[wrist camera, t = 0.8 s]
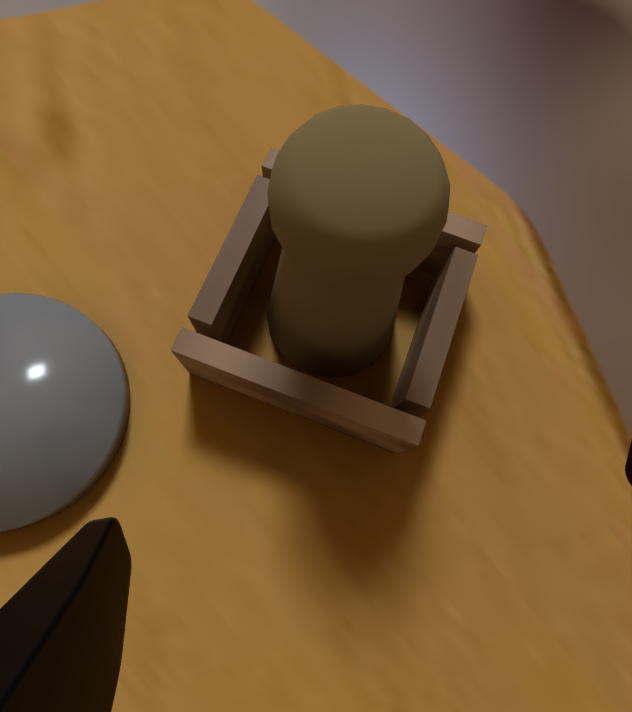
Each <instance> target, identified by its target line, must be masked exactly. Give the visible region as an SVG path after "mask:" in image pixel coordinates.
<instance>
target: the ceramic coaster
mask: <svg viewBox="0 0 632 712" xmlns="http://www.w3.org/2000/svg"><path fill="white" fill-rule="evenodd" d="M129 409H130V389H129V381H128V376H127V372H126V369H125V365H124V363H123V360H122V358H121V356H120V354H119V352H118V350H117V349H116V347H115V345H114V344H113V342H112V341H111V340H110V339H109V337H108V336H107V335H106V334H105V333H104V332H103V331H102V330H101V329H100V328H99V327H98V326H97V325H96V324H95V323H93V322H92V321H91V320H90V319H89V318H88V317H86V316H85V315H84V314H83V313H81V312H79V311H78V310H76V309H75V308H73V307H71V306H69V305H67V304H65V303H63V302H61V301H58V300H55V299H52V298H48V297H45V296H39V295H33V294H20V293H13V294H0V532H1V531H10V530H14V529H19V528H23V527H27V526H30V525H33V524H35V523H38V522H41V521H44V520H46V519H48V518H50V517H52V516H54V515H56V514H58V513H59V512H61V511H62V510H64V509H65V508H67V507H69V506H70V505H72V504H73V503H74V502H76V501H77V500H78V499H79V498H80V497H82V496H83V495H84V494H85V493H86V492H87V491H88V490H89V489H90V488H91V487H92V486H93V485H94V484H95V483H96V482H97V481H98V480H99V479H100V477H101V476H102V474H103V473H104V472H105V470H106V469H107V468H108V466H109V465H110V463H111V461H112V460H113V458H114V456H115V454H116V453H117V451H118V448H119V446H120V444H121V441H122V439H123V437H124V433H125V429H126V426H127V422H128V416H129Z"/></svg>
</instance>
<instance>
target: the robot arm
mask: <svg viewBox="0 0 632 712" xmlns="http://www.w3.org/2000/svg"><path fill="white" fill-rule="evenodd" d="M625 473H626V477H627V479H628V481H629V483H630V484H631V486H632V440H631V445H630V449H629V453H628V457H627V461H626V465H625ZM130 576H131V555H130V552H129V549H128V546H127V543H126V540H125V537H124V534H123V531H122V528H121V525H120V523H119V521H118V520H117V519H116V518H113V517H110V518H104V519H98V520H93V521H90V522H88V523H87V524H85V525H84V526H83V527H82V528H81V529H80V530H79V531H78V532H77V533H76V534H75V535H74V536H73V537H72V538H71V539H70V540H69V541H68V542H67V543H66V544H65V545H64V546H63V547H62V548H61V549H60V550H59V551H58V552H57V553H56V554H55V555H54V556H53V557H52V558H51V559H50V560H49V561H48V562H47V563H46V564H45V565H44V566H43V567H42V568H41V569H40V570H39V571H38V572H37V573H36V574H35V575H34V576H33V577H32V578H31V579H30V580H29V581H28V582H27V583H26V584H25V585H24V586H23V587H22V588H21V589H20V590H19V591H18V592H17V593H16V594H15V595H14V596H13V597H12V598H11V599H10V600H9V601H8V602H7V603H6V604H5V605H4V606H3V607H2V608H1V609H0V712H111V710H112V706H113V701H114V696H115V692H116V687H117V682H118V677H119V672H120V666H121V659H122V651H123V642H124V632H125V623H126V614H127V604H128V595H129V585H130Z"/></svg>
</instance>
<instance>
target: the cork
mask: <svg viewBox="0 0 632 712" xmlns="http://www.w3.org/2000/svg"><path fill="white" fill-rule="evenodd" d="M267 196H268V206H269V212H270V218H271V225H272V230H273V231H274V233H275V235H276V237H277V239H278V241H279V242H280V244H281V246H282V251H281V255H280V259H279V264H278V268H277V272H276V277H275V281H274V285H273V289H272V294H271V298H270V303H269V308H268V313H267V316H268V323H269V330H270V334H271V336H272V338H273V340H274V342H275V344H276V346H277V348H278V350H279V351H280V352H281V353H282V354H283V355H284V356H285V357H286V358H287V359H288V360H289V361H290V362H291V363H292V364H293V365H294V366H296V367H298V368H300V369H302V370H304V371H306V372H308V373H310V374H314V375H320V376H326V377H338V376H345V375H352V374H354V373H356V372H358V371H360V370H362V369H364V368H366V367H368V366H370V365H371V364H372V363H373V362H374V361H375V360H376V359H377V358H378V357H379V356H380V355H381V354H382V353H383V352H384V350H385V348H386V346H387V344H388V342H389V340H390V338H391V336H392V332H393V328H394V323H395V319H396V315H397V310H398V306H399V301H400V297H401V292H402V288H403V284H404V279H405V276H406V275H408V274H409V273H411V272H412V271H413V270H414V269H415V268H416V267H417V266H418V265H419V264H420V263H421V262H422V261H423V260H424V259H426V258H427V257H428V256H429V255H430V253H431V251H432V250H433V248H434V247H435V245H436V243H437V241H438V239H439V237H440V235H441V233H442V231H443V229H444V226H445V224H446V222H447V216H448V207H449V196H450V183H449V179H448V175H447V172H446V168H445V164H444V161H443V159H442V157H441V154H440V152H439V151H438V149H437V148H436V146H435V145H434V143H433V142H432V141H431V139H430V138H429V136H428V135H427V133H425V132H424V131H423V130H422V129H421V128H419V127H418V126H417V125H416V124H414V123H413V122H412V121H411V120H410V119H408V118H406V117H404V116H402V115H399V114H397V113H395V112H393V111H390V110H388V109H386V108H380V107H374V106H368V105H362V104H361V105H350V106H339V107H335V108H333V109H330V110H327V111H325V112H322V113H319V114H317V115H315V116H313V117H312V118H311V119H310V120H308V121H307V122H306V123H305V124H303V125H302V126H301V127H299V128H298V129H297V130H296V131H295V132H294V133H292V134H291V135H290V136H289V137H288V139H287V140H286V142H285V144H284V145H283V147H282V148H281V150H280V151H279V153H278V154H277V156H276V158H275V162H274V165H273V168H272V172H271V177H270V181H269V186H268V191H267Z"/></svg>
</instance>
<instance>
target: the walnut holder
mask: <svg viewBox="0 0 632 712" xmlns="http://www.w3.org/2000/svg"><path fill="white" fill-rule="evenodd" d="M278 153H279V151H278V150H275V149H272V148H271V149H270V151H269V153H268V155H267V157H266V159H265V161H264V163H263V165H262V172H263V177H262V176H259V175H257V177H256V179H255V181H254V183H253V185H252V187H251V189H250V191H249V193H248V195H247V197H246V199H245V201H244V203H243V205H242V207H241V209H240V211H239V213H238V215H237V217H236V219H235V221H234V223H233V225H232V227H231V229H230V231H229V233H228V235H227V237H226V239H225V241H224V244H223V246H222V248H221V250H220V252H219V254H218V256H217V258H216V260H215V262H214V264H213V266H212V268H211V270H210V272H209V274H208V276H207V278H206V280H205V282H204V284H203V286H202V288H201V290H200V292H199V294H198V296H197V298H196V300H195V302H194V304H193V306H192V308H191V310H190V312H189V314H188V317H189V319H190V321H191V323H192V325H193V326H194V328H195V330H196V332H197V333H196V332H193V331H191V330H188V329H186V328H183V327H182V328H181V330H180V332H179V334H178V336H177V338H176V340H175V342H174V345H173V347H172V349H171V351H172V352H173V354H174V355H175V356H176V357H177V358H178V360H179V361H180V362H181V363H182V365H183V366H184V367H185V368H186V370H187V371H188V372H189V373H191V374H193V375H196V376H199V377H201V378H204V379H206V380H209V381H212V382H214V383H217V384H219V385H222V386H224V387H227V388H230V389H232V390H235V391H237V392H240V393H242V394H245V395H248V396H250V397H253V398H255V399H258V400H261V401H263V402H266V403H268V404H271V405H273V406H276V407H279V408H281V409H284V410H286V411H289V412H292V413H294V414H297V415H299V416H302V417H304V418H307V419H310V420H312V421H315V422H317V423H320V424H322V425H325V426H328V427H330V428H333V429H335V430H338V431H341V432H343V433H346V434H348V435H351V436H353V437H356V438H359V439H361V440H364V441H366V442H369V443H372V444H374V445H377V446H379V447H382V448H384V449H387V450H390V451H392V452H395V453H397V454H399V453H401V452H404V451H407V450H409V449H412V448H414V447H417V446H419V443H420V440H421V437H422V434H423V430H424V427H425V424H426V420H424V419H421V418H418V417H417V416H419V415H421V414H422V413H424V412H425V411H427V410H429V409H430V408H431V405H432V401H433V398H434V395H435V392H436V389H437V385H438V382H439V379H440V376H441V373H442V369H443V366H444V363H445V360H446V357H447V353H448V350H449V347H450V344H451V340H452V337H453V334H454V331H455V328H456V324H457V321H458V318H459V315H460V312H461V308H462V305H463V302H464V299H465V295H466V292H467V289H468V286H469V283H470V279H471V276H472V273H473V270H474V267H475V263H476V260H477V257H478V254H475V252H476V251H477V250H478V248H479V247H480V246H481V244H482V241H483V238H484V234H485V231H486V228H487V225H484V224H481V223H479V222H476V221H473V220H470V219H468V218H465V217H462V216H459V215H456V214H454V213H451V212H448V216H447V222H446V224H445V226H444V229H443V231H442V233H441V235H440V237H439V239H438V241H437V243H436V245H435V247H434V248H433V250H432V251H431V253H430V255H429V256H428V257H427V258H426V259H424V260H423V261H422V262H421V263H420V264H419V265H418V266H417V267H418V268H421V269H424V270H426V271H429V272H432V273H435V274H437V275H436V277H435V278H434V280H433V281H432V283H431V286H430V289H429V292H428V295H427V298H426V301H425V304H424V307H423V310H422V313H421V316H420V319H419V322H418V325H417V328H416V331H415V334H414V336H413V339H412V342H411V345H410V348H409V351H408V354H407V357H406V360H405V363H404V366H403V369H402V372H401V375H400V378H399V381H398V384H397V387H396V390H395V393H394V396H393V399H392V402H391V405H390V406H387V405H384V404H382V403H379V402H376V401H374V400H371V399H369V398H366V397H363V396H361V395H358V394H356V393H353V392H350V391H348V390H345V389H342V388H340V387H337V386H335V385H332V384H329V383H327V382H324V381H322V380H319V379H316V378H314V377H311V376H308V375H306V374H303V373H301V372H298V371H295V370H293V369H290V368H288V367H285V366H282V365H280V364H277V363H275V362H272V361H269V360H267V359H264V358H261V357H259V356H256V355H254V354H251V353H248V352H246V351H243V350H241V349H238V348H235V347H233V346H230V345H227V342H228V340H229V337H230V335H231V333H232V331H233V329H234V327H235V324H236V322H237V320H238V318H239V316H240V314H241V311H242V309H243V307H244V305H245V303H246V300H247V298H248V296H249V294H250V292H251V290H252V287H253V285H254V283H255V281H256V279H257V277H258V274H259V272H260V270H261V268H262V266H263V264H264V261H265V259H266V257H267V255H268V253H269V250H270V248H271V246H272V244H273V242H274V240H275V237H276V235H275V233H274V231H273V230H272V225H271V218H270V212H269V206H268V196H267V191H268V186H269V181H270V177H271V172H272V168H273V165H274V162H275V158H276V156H277V154H278Z"/></svg>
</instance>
